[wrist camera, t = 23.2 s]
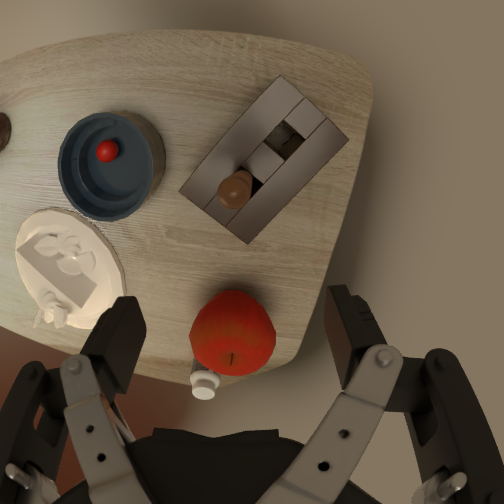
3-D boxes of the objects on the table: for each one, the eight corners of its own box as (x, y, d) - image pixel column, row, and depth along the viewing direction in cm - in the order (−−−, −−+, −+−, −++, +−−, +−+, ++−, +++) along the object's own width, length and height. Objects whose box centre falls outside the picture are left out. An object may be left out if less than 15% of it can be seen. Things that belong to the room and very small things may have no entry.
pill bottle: (191, 357, 55) (184, 396, 46) (199, 340, 53) (192, 381, 44) (217, 365, 56) (213, 404, 48) (226, 349, 54) (223, 389, 45)
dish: (152, 304, 49) (133, 350, 39) (68, 335, 53) (46, 371, 43) (74, 181, 39) (31, 206, 28) (2, 243, 43) (-31, 271, 33)
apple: (191, 319, 51) (177, 382, 38) (207, 263, 45) (193, 324, 33) (258, 336, 52) (260, 399, 40) (282, 284, 47) (293, 347, 35)
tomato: (123, 160, 36) (122, 138, 36) (109, 159, 33) (109, 135, 33) (105, 164, 37) (104, 143, 36) (91, 164, 34) (91, 141, 33)
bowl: (65, 171, 38) (44, 182, 32) (111, 92, 33) (90, 92, 28) (132, 224, 42) (117, 241, 37) (186, 149, 37) (176, 156, 32)
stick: (233, 175, 39) (208, 193, 18) (245, 164, 39) (234, 169, 18) (243, 187, 40) (231, 219, 19) (256, 176, 39) (257, 196, 18)
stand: (191, 175, 39) (178, 191, 32) (274, 81, 33) (280, 74, 26) (247, 220, 42) (247, 245, 35) (330, 133, 36) (349, 139, 29)
